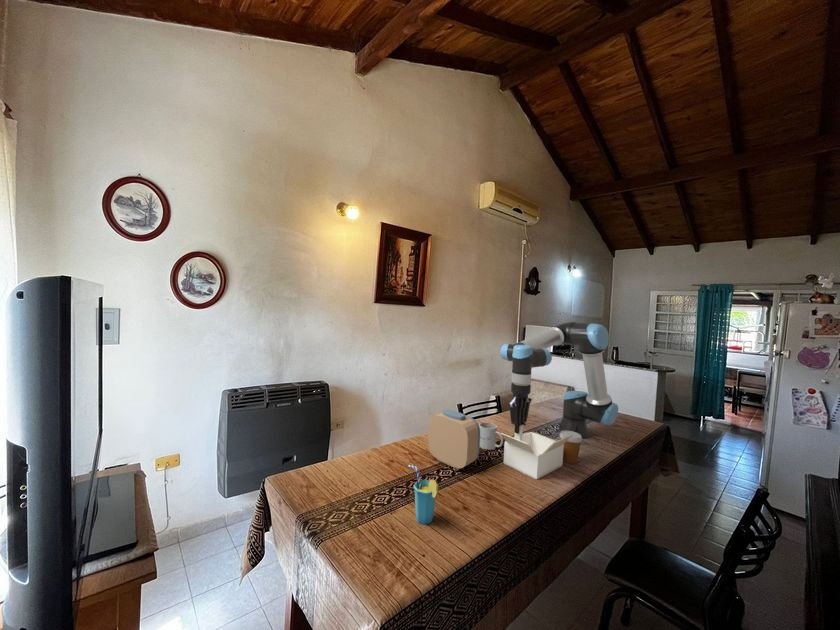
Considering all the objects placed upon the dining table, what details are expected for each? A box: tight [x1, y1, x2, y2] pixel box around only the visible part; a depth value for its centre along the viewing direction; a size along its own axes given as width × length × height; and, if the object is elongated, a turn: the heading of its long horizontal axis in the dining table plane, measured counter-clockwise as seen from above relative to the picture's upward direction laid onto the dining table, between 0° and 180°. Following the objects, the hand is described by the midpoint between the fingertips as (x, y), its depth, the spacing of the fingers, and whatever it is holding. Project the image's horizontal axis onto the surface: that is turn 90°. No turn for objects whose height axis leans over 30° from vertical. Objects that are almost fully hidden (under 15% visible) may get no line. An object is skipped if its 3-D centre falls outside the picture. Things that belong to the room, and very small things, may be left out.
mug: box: [478, 421, 504, 451], centre depth 160 cm, size 12×9×10 cm
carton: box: [503, 431, 564, 481], centre depth 144 cm, size 21×17×10 cm
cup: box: [407, 464, 439, 525], centre depth 105 cm, size 14×8×15 cm, turn 46°
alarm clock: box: [427, 409, 481, 471], centre depth 142 cm, size 21×10×22 cm, turn 47°
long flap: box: [543, 435, 573, 454], centre depth 135 cm, size 15×7×1 cm
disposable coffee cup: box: [558, 431, 583, 465], centre depth 150 cm, size 10×10×12 cm
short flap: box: [500, 432, 534, 454], centre depth 135 cm, size 6×13×1 cm
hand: (518, 440), depth 136 cm, fingers closed
